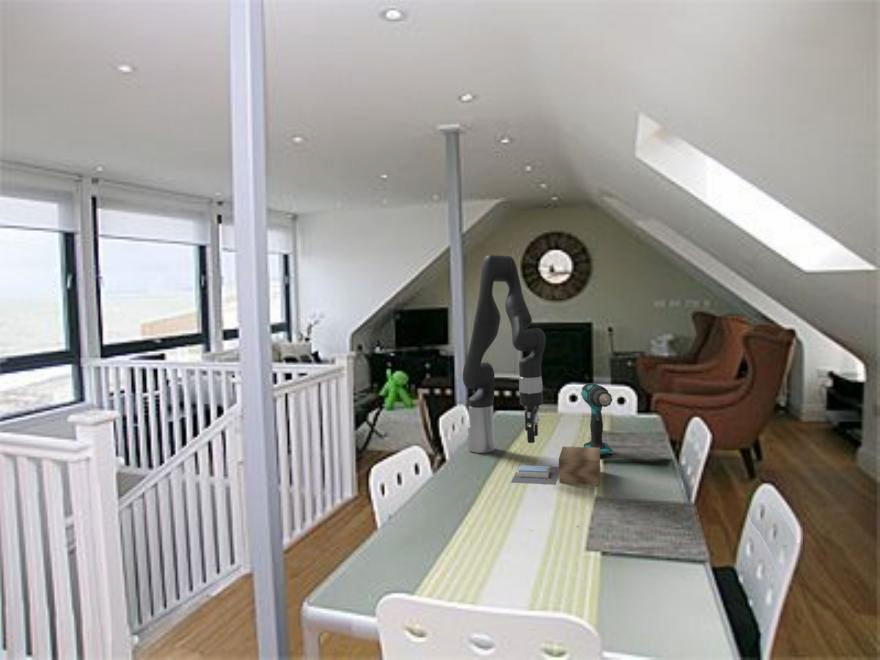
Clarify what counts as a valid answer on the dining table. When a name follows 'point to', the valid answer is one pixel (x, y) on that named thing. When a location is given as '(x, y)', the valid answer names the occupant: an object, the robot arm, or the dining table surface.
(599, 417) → the power drill
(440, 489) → the dining table surface
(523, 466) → the card box
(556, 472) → the mat
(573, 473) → the walnut block
